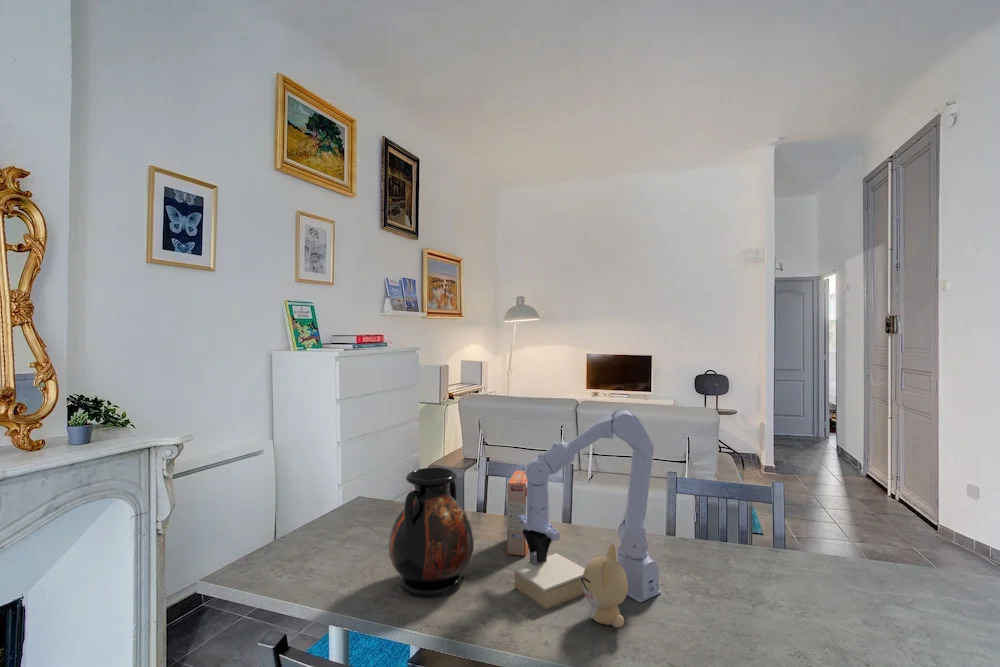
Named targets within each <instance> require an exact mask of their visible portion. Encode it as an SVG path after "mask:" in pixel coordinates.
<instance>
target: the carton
mask: <svg viewBox="0 0 1000 667" xmlns="http://www.w3.org/2000/svg"><path fill="white" fill-rule="evenodd" d="M514 589H515V590H516V591H518V592H520V593H521V595H523V596H525V597H526V598H528V599H529V600H530V601H531V602H533V603H535V604H536V605H537V604H538V606H539V607H540V608H542V609H543V610H544V609H545V611H548V610H550V609H552V608H554V606H555V607H557V606H559V604H560V605H562V604H565V603H567V602H570V601H572V600H574V599H576V597H577V598H579V597H581V595H582V596H583V594H584V591H583V586H582V581H581V578H579V579H577V580H574V581H572V582H569V583H566V584H564V585H561V586H559V587H556V588H553V589H551V590H548V591H546V592H544V591H543V590H541V589H540V588H538V587H537V586H535V585H534V584H532V583H531V582H529V581H528V580H526V579H525V578H523V577H522V576H520V575H519V574H517V573H516V572H514ZM584 595H585V594H584ZM578 596H579V597H578ZM566 601H567V602H566ZM564 602H565V603H564ZM561 603H562V604H561Z"/></svg>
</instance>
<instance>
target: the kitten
mask: <svg viewBox="0 0 1000 667" xmlns="http://www.w3.org/2000/svg"><path fill="white" fill-rule="evenodd" d="M584 569H585V570H584V573H583V577H582V578H581V581H582V586H583V591H584V595H585V598H586V599H587V601H588V602H589V603H590V609H589V613H588V617H589V619H590V620H594V621H595V622H596V623H599V624H601V625H605V626H606V625H607V626H608V625H609V626H610V625H612V626H613V627H614V628H621V627H623V626H624V624H625V619H624V616H623V615H621V610H620V608H619V605H620V604H622V603H623V602H624V600H625V599H626V598H627V592H628V581H627V577H626V574H625V571H624V569H623V568H622V566H621V565H620V564H619V563H618V560H617V552H616V546H615V544H614V543H613V544H612V543H611V544H610V545H609V547H608V549H607V553H606V555H601V556H596V557H594V558H593V559H591V560H590V561H589V562H588V563H587V565H586V566H585V568H584Z"/></svg>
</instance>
